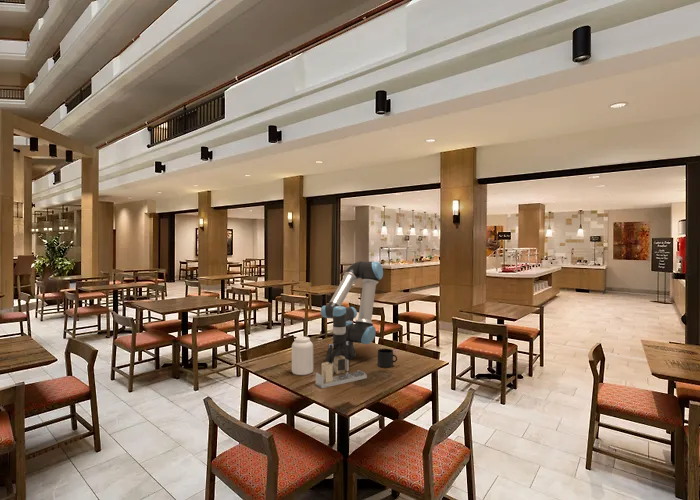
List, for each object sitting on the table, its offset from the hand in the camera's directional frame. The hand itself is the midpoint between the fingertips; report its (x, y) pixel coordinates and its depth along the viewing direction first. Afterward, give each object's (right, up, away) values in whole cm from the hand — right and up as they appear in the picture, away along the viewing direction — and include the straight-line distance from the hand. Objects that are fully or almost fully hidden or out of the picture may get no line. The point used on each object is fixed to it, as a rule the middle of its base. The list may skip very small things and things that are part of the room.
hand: (339, 371), depth 216 cm
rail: (+2, 0, -14) cm, 14 cm away
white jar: (-22, 0, +1) cm, 22 cm away
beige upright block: (0, 0, 0) cm, 0 cm away
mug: (+29, 0, +12) cm, 32 cm away
